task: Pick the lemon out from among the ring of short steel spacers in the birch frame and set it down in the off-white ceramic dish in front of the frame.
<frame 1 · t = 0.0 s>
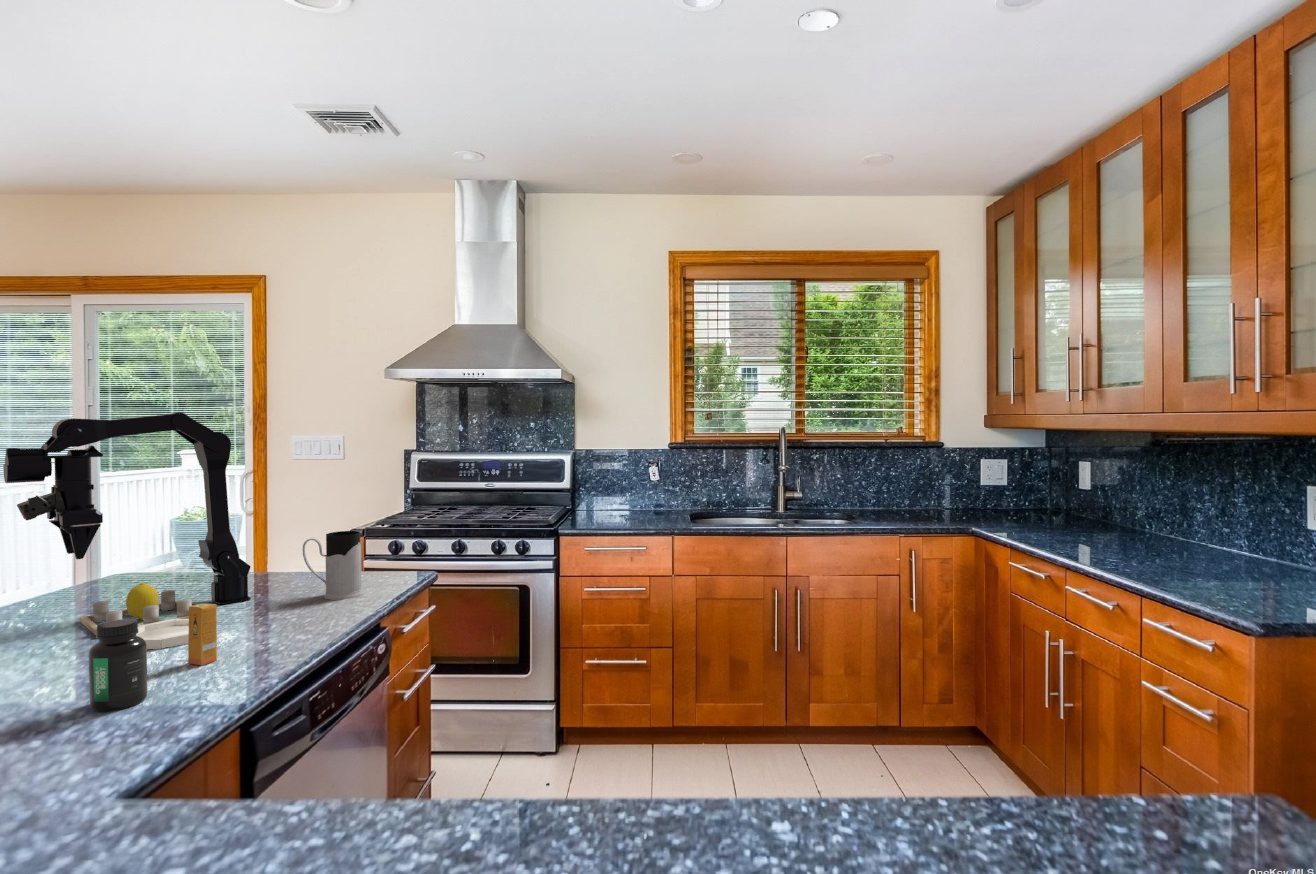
hand: (75, 556, 143), 15 cm above the countertop, tool pointing down, fingers open, 9 cm apart
spacer field: (142, 620, 149), on the countertop
supplement box: (203, 663, 122), on the countertop
dish: (168, 638, 136), on the countertop
supplement bottle: (119, 704, 104), on the countertop
lemon: (142, 621, 149), resting in spacer field
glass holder: (332, 595, 170), on the countertop
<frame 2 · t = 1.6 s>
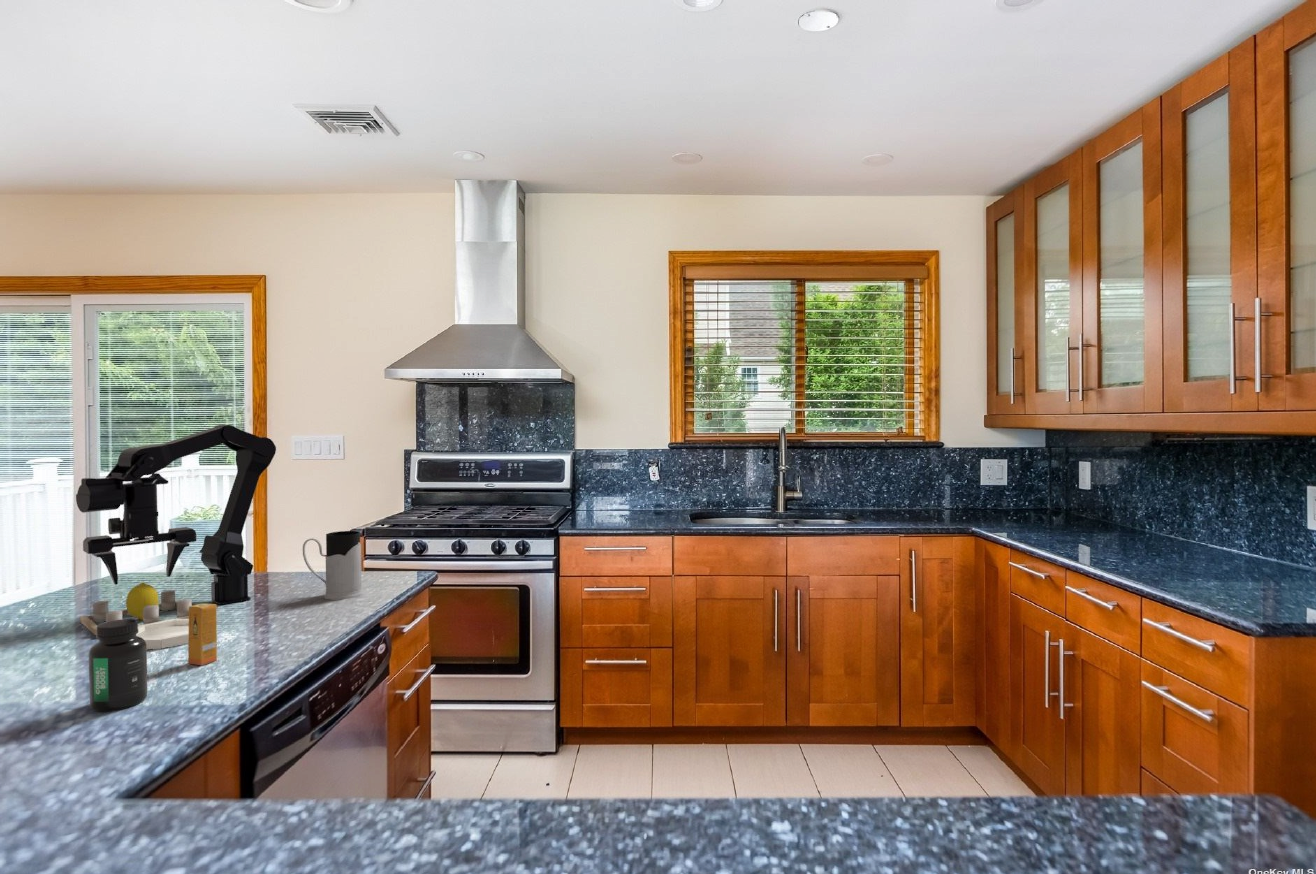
hand: (142, 580, 149), 8 cm above the countertop, tool pointing down, fingers open, 9 cm apart
nothing on the countertop moved.
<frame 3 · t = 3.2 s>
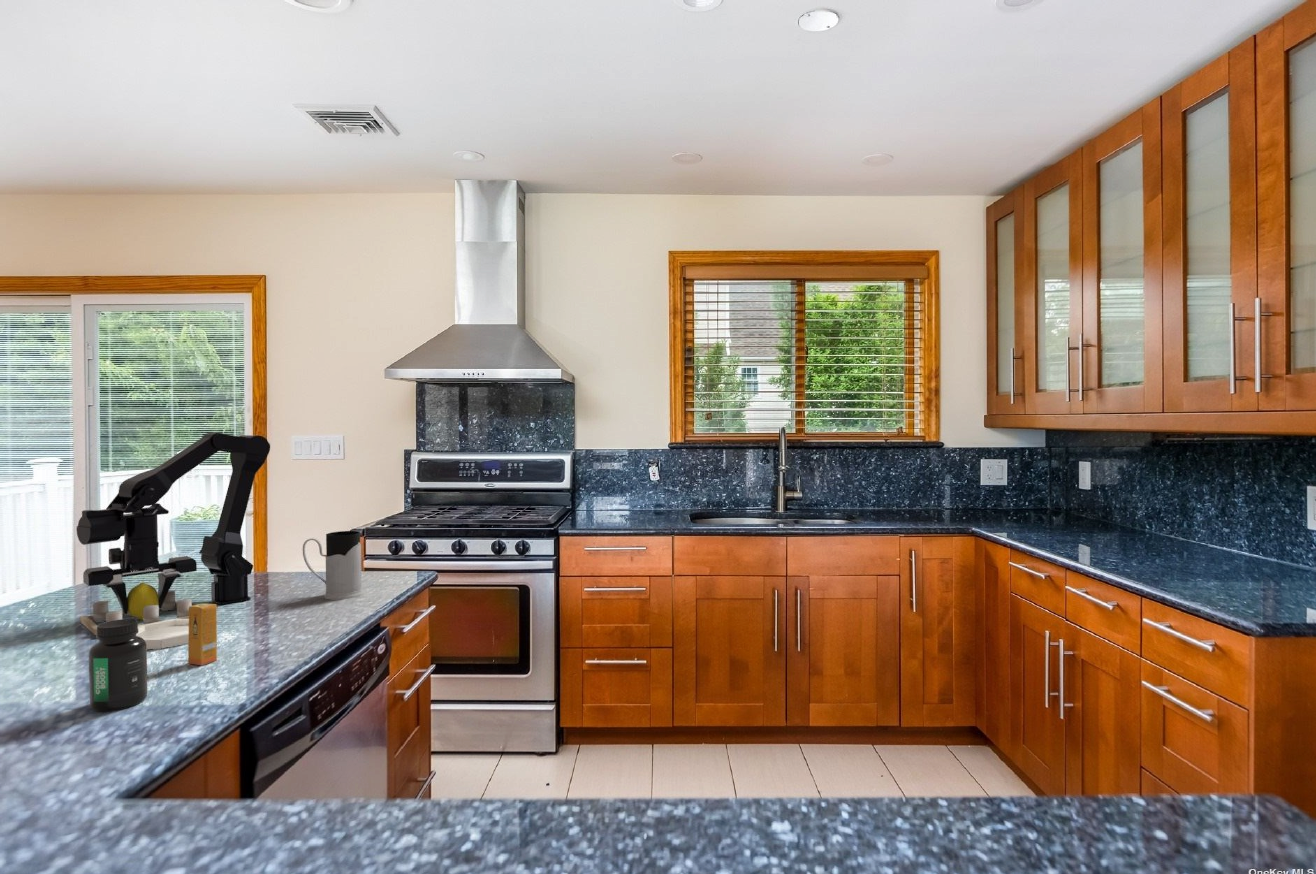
hand: (142, 610, 149), 2 cm above the countertop, tool pointing down, fingers closed on lemon, 5 cm apart
lemon: (142, 621, 149), resting in spacer field, touching gripper
everything else where it was.
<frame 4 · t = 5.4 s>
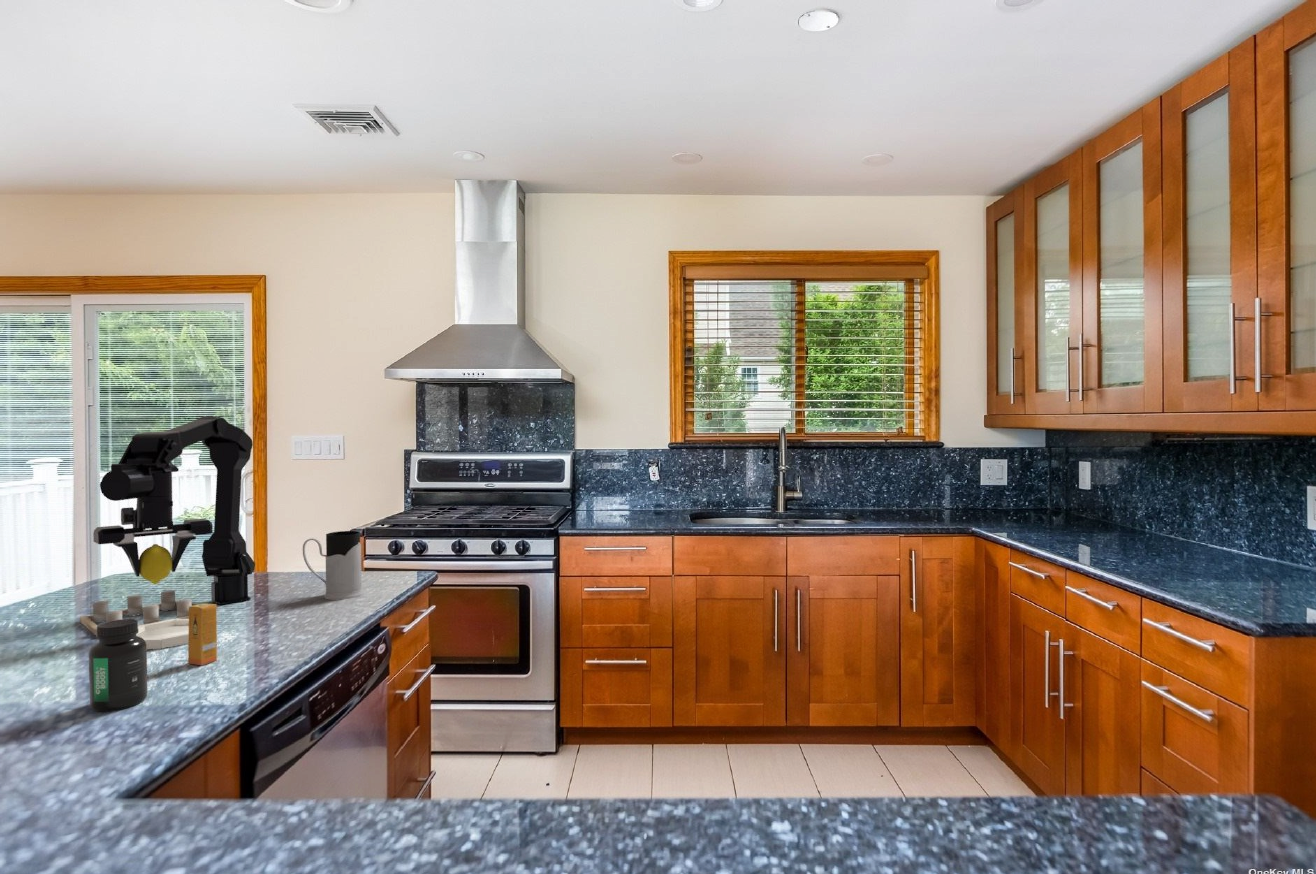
hand: (155, 573, 140), 12 cm above the countertop, tool pointing down, fingers closed on lemon, 5 cm apart
lemon: (155, 585, 140), point 9 cm above the countertop, touching gripper
everything else where it was.
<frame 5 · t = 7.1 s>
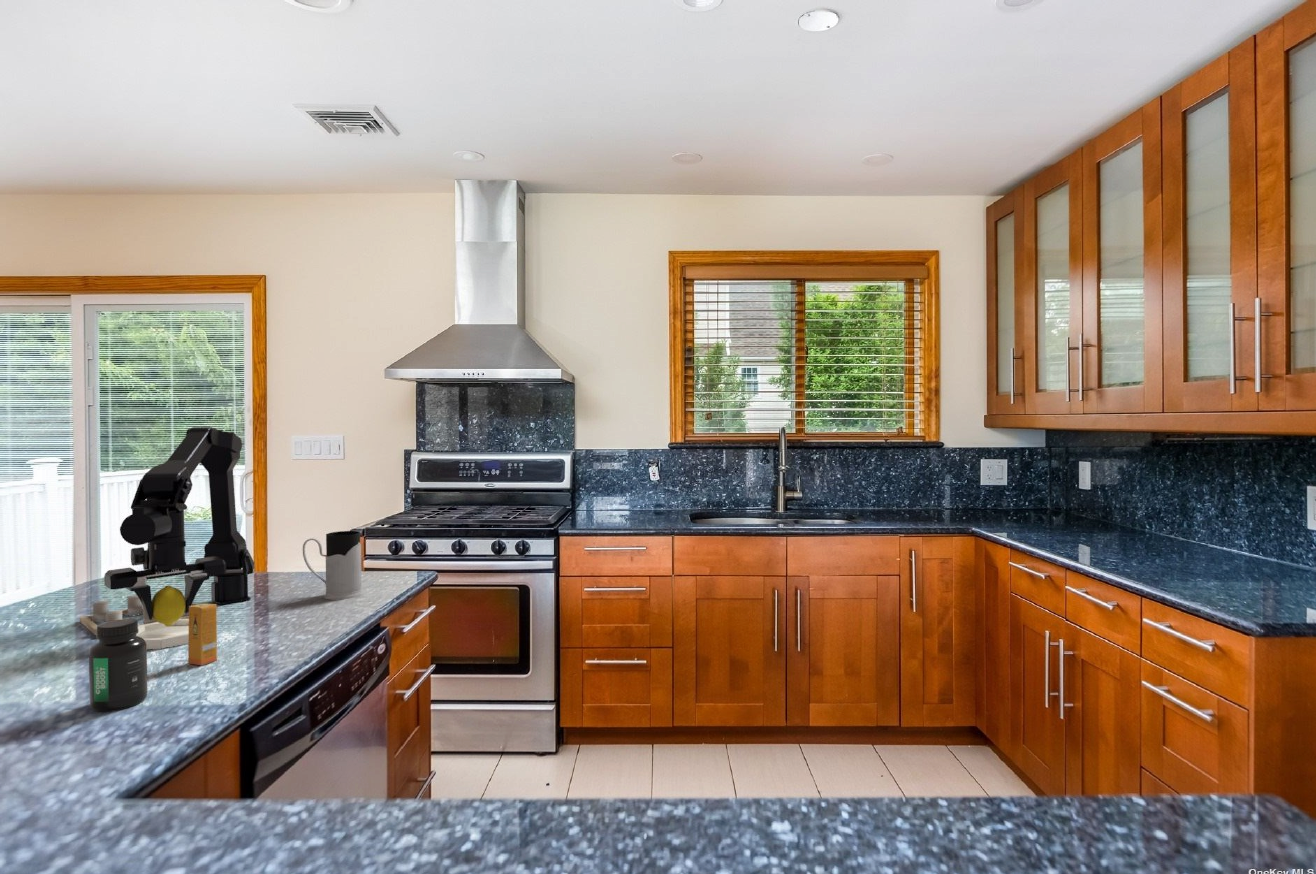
hand: (168, 616, 136), 4 cm above the countertop, tool pointing down, fingers closed on lemon, 5 cm apart
lemon: (168, 627, 136), point 2 cm above the countertop, touching gripper
everything else where it was.
when the fingers open (4 cm above the countertop, at t = 8.0 s): lemon drops 1 cm, resting on dish.
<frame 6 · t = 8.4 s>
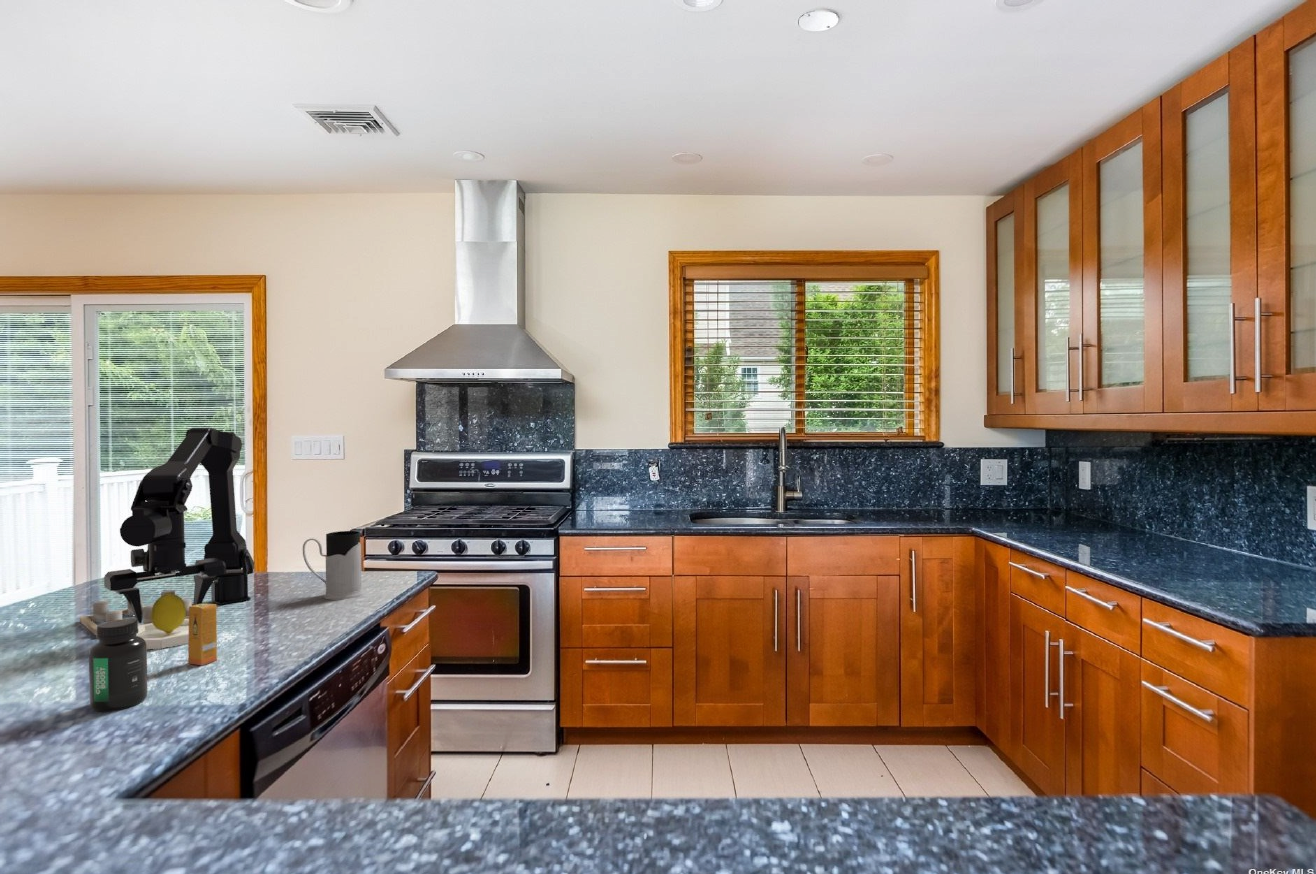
hand: (168, 617, 136), 4 cm above the countertop, tool pointing down, fingers open, 9 cm apart
lemon: (168, 634, 136), point 1 cm above the countertop, touching dish
everything else where it was.
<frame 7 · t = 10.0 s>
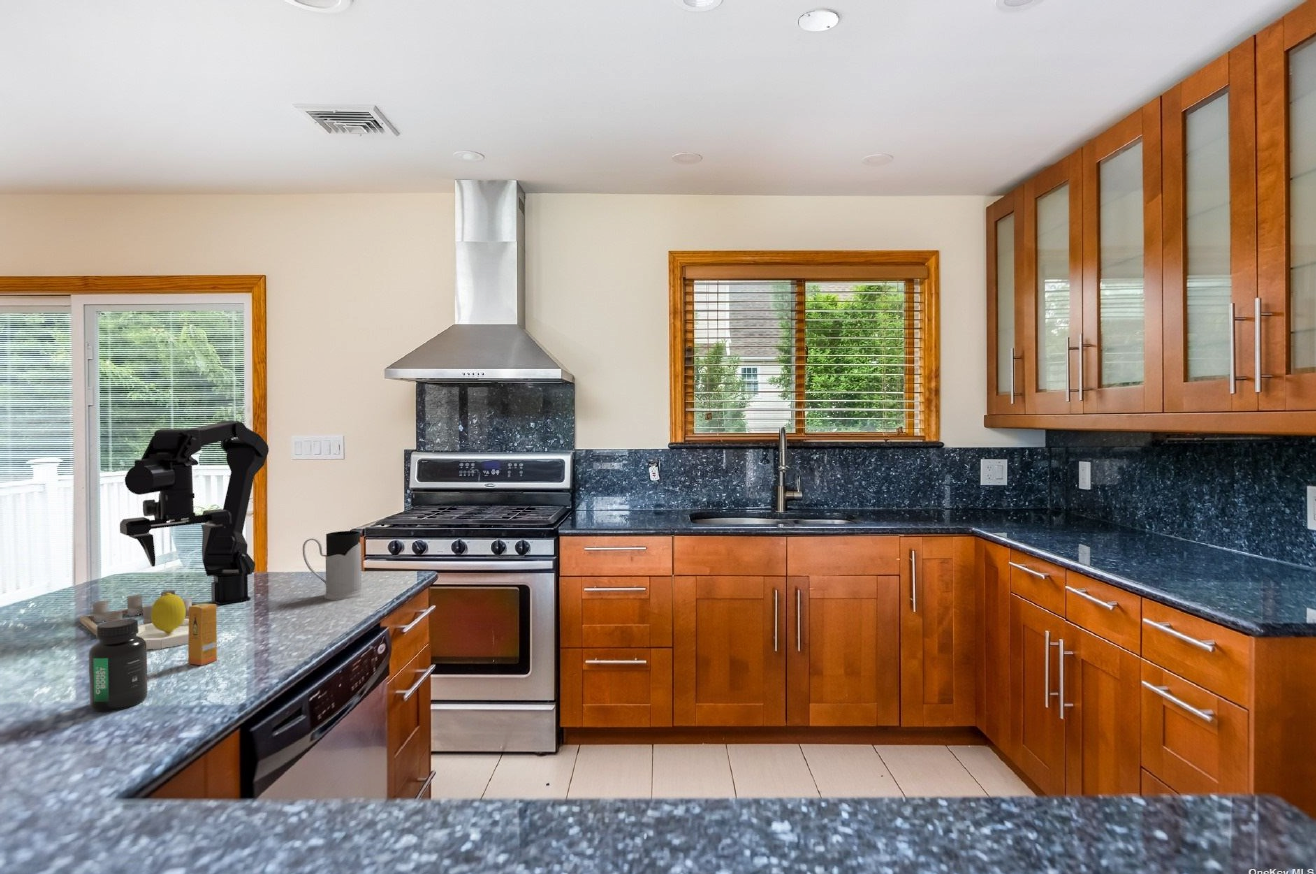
hand: (179, 562, 148), 12 cm above the countertop, tool pointing down, fingers open, 9 cm apart
nothing on the countertop moved.
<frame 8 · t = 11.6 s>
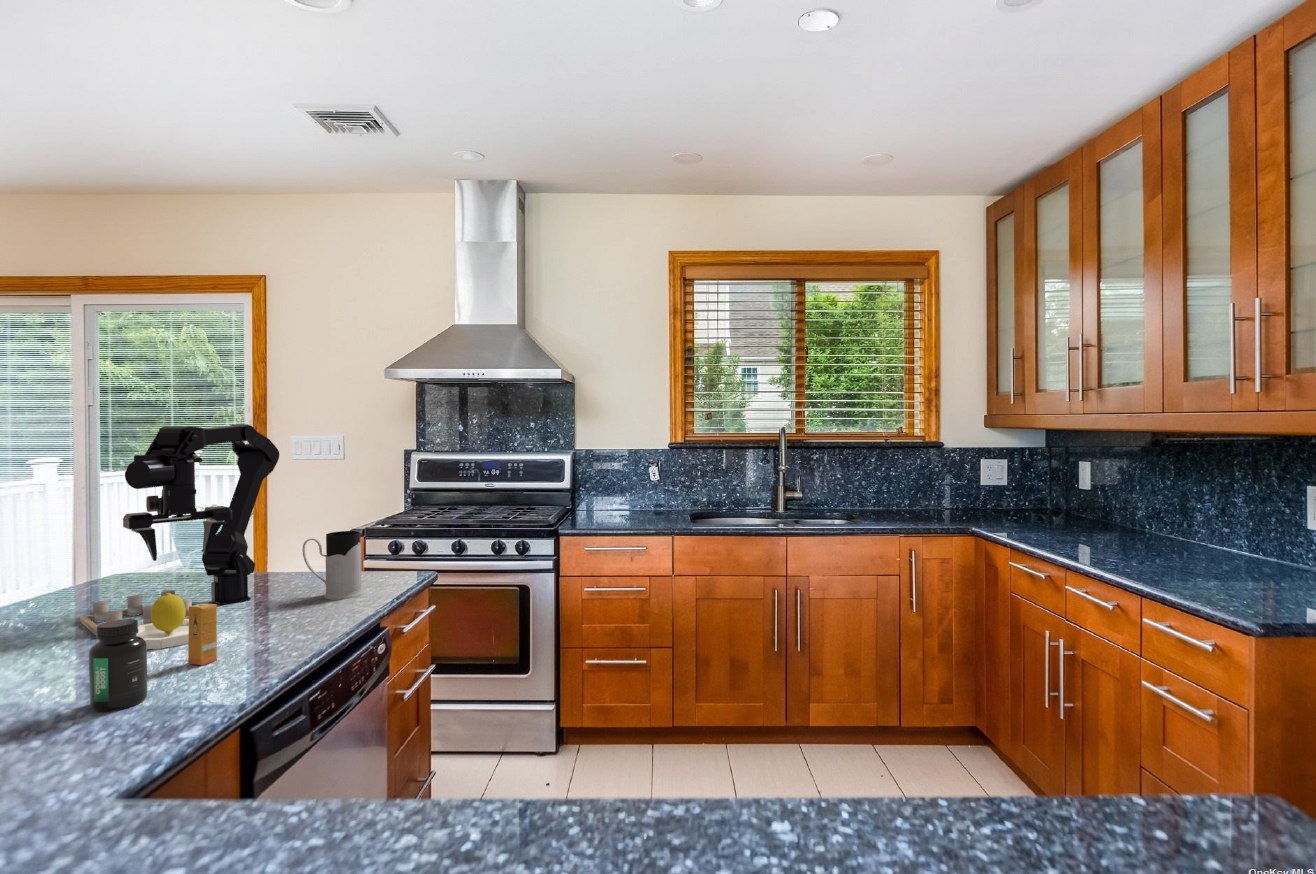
hand: (180, 557, 150), 13 cm above the countertop, tool pointing down, fingers open, 9 cm apart
nothing on the countertop moved.
at the end: lemon inside the target area on the dish (0.1 cm from its centre), point 0.6 cm above the dish's base; the gripper is holding nothing; lemon moved 19.0 cm from its start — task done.
